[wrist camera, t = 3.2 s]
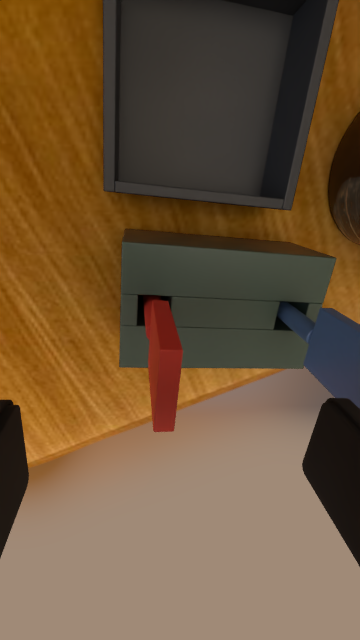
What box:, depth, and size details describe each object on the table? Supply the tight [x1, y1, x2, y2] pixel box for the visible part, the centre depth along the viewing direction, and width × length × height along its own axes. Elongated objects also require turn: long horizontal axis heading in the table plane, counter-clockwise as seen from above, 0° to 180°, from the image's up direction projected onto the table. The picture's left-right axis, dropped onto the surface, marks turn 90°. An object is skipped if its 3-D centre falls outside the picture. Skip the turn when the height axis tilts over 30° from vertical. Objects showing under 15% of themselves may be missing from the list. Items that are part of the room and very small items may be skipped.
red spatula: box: [143, 295, 183, 432], centre depth 17 cm, size 1×4×14 cm, turn 174°
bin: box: [103, 0, 339, 210], centre depth 17 cm, size 11×11×4 cm
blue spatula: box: [277, 301, 360, 409], centre depth 19 cm, size 1×4×14 cm, turn 174°
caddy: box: [119, 229, 336, 369], centre depth 21 cm, size 13×8×6 cm, turn 84°
